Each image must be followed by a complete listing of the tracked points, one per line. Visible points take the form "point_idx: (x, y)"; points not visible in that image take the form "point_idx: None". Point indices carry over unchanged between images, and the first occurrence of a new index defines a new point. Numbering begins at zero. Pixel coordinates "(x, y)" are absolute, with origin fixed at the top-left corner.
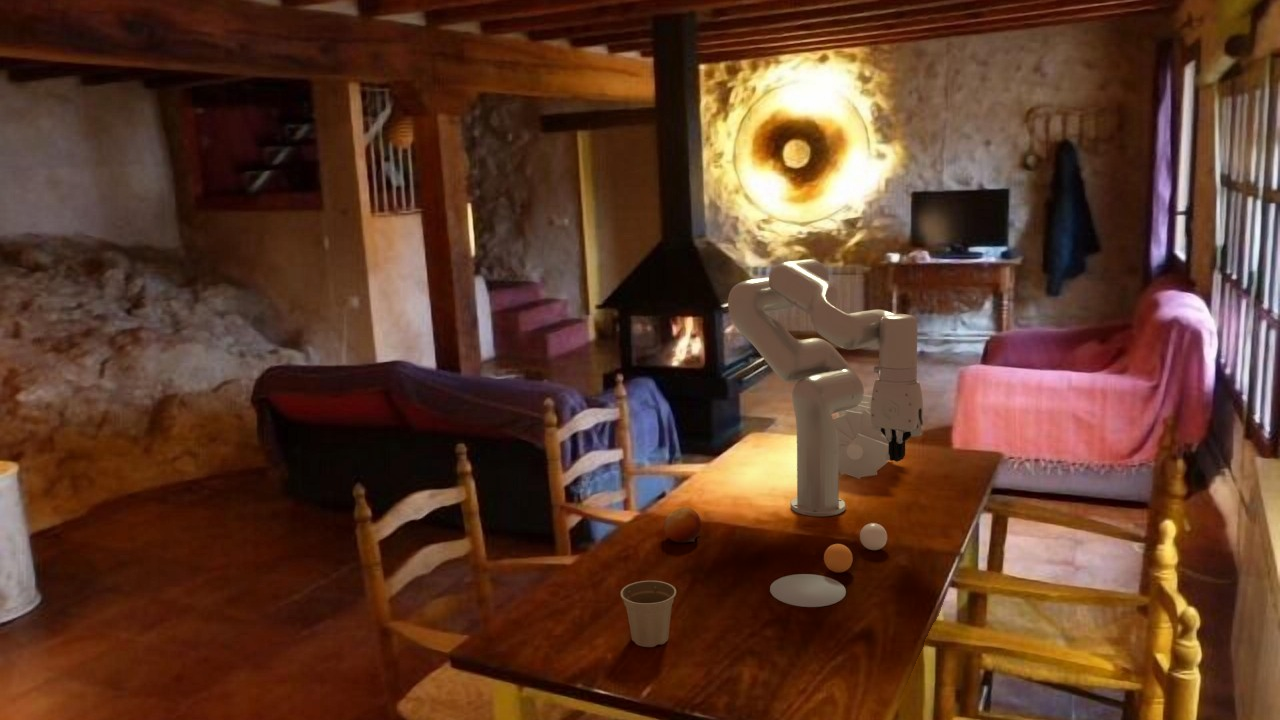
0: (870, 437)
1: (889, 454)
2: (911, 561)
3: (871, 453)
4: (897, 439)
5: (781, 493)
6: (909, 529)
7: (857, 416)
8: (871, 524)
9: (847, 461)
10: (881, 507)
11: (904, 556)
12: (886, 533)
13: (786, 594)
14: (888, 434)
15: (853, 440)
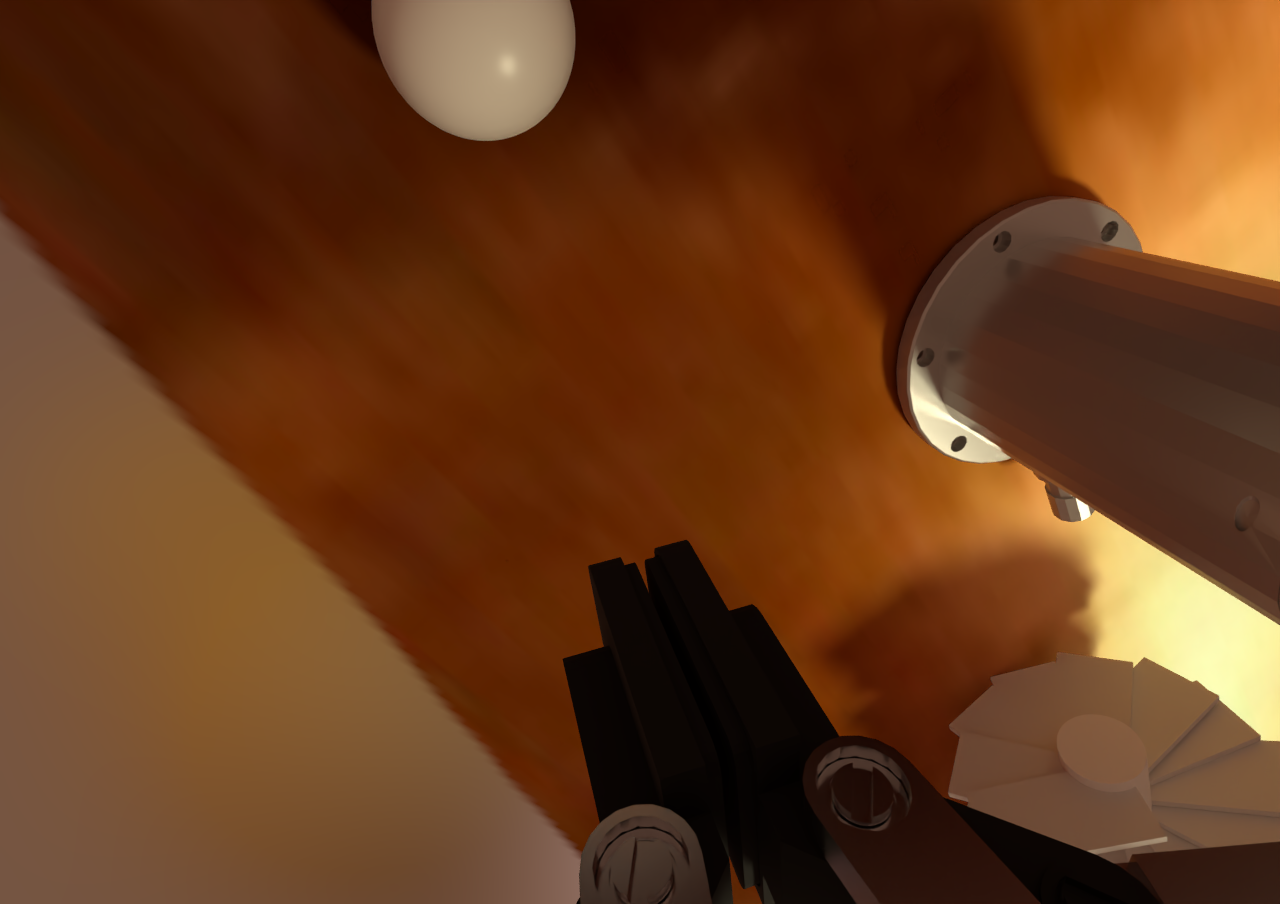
0: None
1: (743, 608)
2: (149, 37)
3: (1032, 786)
4: (687, 874)
5: None
6: (538, 446)
7: None
8: (489, 2)
9: (1087, 705)
10: (790, 545)
11: (253, 85)
12: (399, 84)
13: None
14: (929, 880)
15: (1149, 801)
